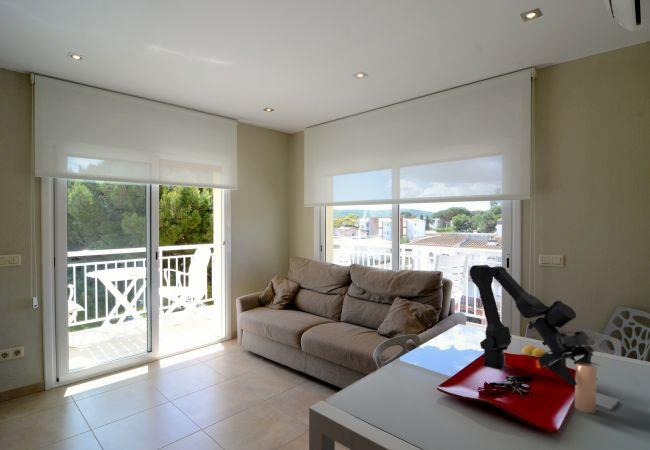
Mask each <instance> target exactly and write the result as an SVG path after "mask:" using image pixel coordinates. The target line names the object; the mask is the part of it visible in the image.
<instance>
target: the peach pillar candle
mask: <svg viewBox="0 0 650 450" xmlns="http://www.w3.org/2000/svg"><path fill="white" fill-rule="evenodd" d="M591 364H592V363H591ZM591 364H588V363H582V362H578V363H576V365H575V378H574V379H575V381H576V383H577V385H575V386H574V389H575V390H574V398H575V399H574V408H575V409H577V410H578V411H580V412H582V413H586V414H594V413H596V408H597V407H596V393H597V380H596V378H597V374H598V371H597V370H598V367H597V366H596V365H594V364H592V365H591Z"/></svg>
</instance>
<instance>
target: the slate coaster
mask: <svg viewBox="0 0 650 450" xmlns="http://www.w3.org/2000/svg"><path fill="white" fill-rule="evenodd" d="M619 403H620V399H617V398H614V397H611V396H608V395H606V394H602V393H601V392H600V393H599V392H596V408H599V409H602V410H605V411H608V412H611V411H612V410H613V409H614V408H615V407H616V406H617V405H618V404H619Z"/></svg>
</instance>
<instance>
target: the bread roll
mask: <svg viewBox="0 0 650 450" xmlns="http://www.w3.org/2000/svg"><path fill="white" fill-rule="evenodd" d="M546 352H547V350H545V349H543V348H539V347H535V346H534V345H531V344H530V345H529V344H528V345H525V346H524V347H523V348H522V349H521V353H522V354H523V356H525V355H528V356H535V357H540V356H542V355H543V354H545V353H546ZM528 356H527V357H528Z"/></svg>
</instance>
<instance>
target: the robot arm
mask: <svg viewBox="0 0 650 450" xmlns="http://www.w3.org/2000/svg"><path fill="white" fill-rule="evenodd" d="M469 276H470V278H471V281H472V283H473V284H474V285H475V287H476V288H477V289H478V292H479V296H480V300H481V304H482V308H483V311H484V315H485V316H484V317H485V320H486V324H487V325H486V328H485V338H484V339H483V340H482V341H480V342H479V344H480V348H481V349H482V350H483V351H484V353H483V354H484V355H483V356H484V357H483V358H484V359H483V363H482V365H483V366H485V367H488V368H493V369H497V370H502V369H503V367H504V366H505V365H506V354H505V353H504V351H507V350H508V347H509V346H510V345H511V342H512V338H513V337H512V334H511V332H510V327H509V326H505V325H504V324H503V322H502V321H501V317H500V313H499V311H498V306H497V302H496V299H495V295H494V290H493V287H492V285H493V282H494V279H495V280H496V281H497V282H498V284H499V285H500V286H501V287H502V288H503V290H504V291H506V292H507V294H508V295H509V296H510V297H511V298H512V299H513V301H514V302H515V307H516V309H517V310H518V312H519V314H520V315H521V316H522V317H523V318H525V319H534V318H535V320H530V321H529V324H528V327H527V328H528V330H536V332H537V333H538V334H539V337H541V339H542V340H543V341H542V342H541V344H542V345H543V346H544V347H545V346H547V347H548V348H549V350H548V351H546V353H545V354H543V355H542V356H540V357H539V359H538V363H539V364H540V366H541V367H542V368H545V367H546V368H545V369H546V370H550V371H551V372H553V373H555V374H556V375H558V376H559V377H561V379H563V380H565V381H566V382H568V383H569V384H571V386H574V387H575V385H577V383H576V381H575V379H576V378H575V377H574V376H573V374H572V372H571V371H570V370H569V367H568V366H567V363H566V362H567V360H566V359H571V360H572V361H573V364H574V365H575V366H576V363H578V362H582V363H588V364H591V365H593V364H592V356H593V355H594V354H593V353H594V352H595V350H594V349H593V348H592V347H591V345H589V339H590V337H589V336H588V335H587V334H586V333H585V332H584V331H583V330H580V331H574V335H568V334H567V333H565V332H561V331H560V329H559V328H563V327H565V326H566V325H568V324H569V323H570V322H572V321H573V320H575V319H576V318H577V314H576V312H575V310H574V309H573V308H572V307H570V306H568V304H565V303H563V301H561V300H555V301H554V302H553V303H552V305H550V306H549V305H546V304H545V303H544V302H543V301H541V300H540V299H539V298H537V297H535V296H534V295H532V294H529V293H528V292H527V291H526V290H525V289H524V288H523V287H522V286H521V285H520V284H519V283H518V282H517V281H516V280H515V279H514V278H513V277H512V276H511V275H510V273H509V272H508V271H507V269H506V268H505V267H503V266H501V265H500V266H492V267H491V266H489V265H488V264H475V265H474V264H473V265H472V266H471V267H470V269H469ZM577 346H578V347H577ZM572 349H573V350H572ZM568 354H569V355H568ZM597 380H598V378H597V377H596V381H597Z"/></svg>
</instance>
